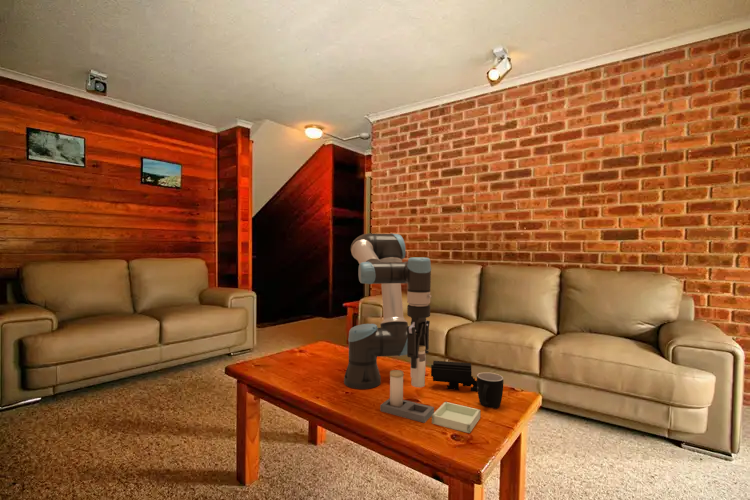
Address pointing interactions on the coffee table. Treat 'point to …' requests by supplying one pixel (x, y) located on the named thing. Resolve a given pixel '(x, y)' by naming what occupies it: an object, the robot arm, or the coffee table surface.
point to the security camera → (453, 374)
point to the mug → (490, 389)
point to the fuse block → (404, 401)
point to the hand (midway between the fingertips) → (418, 375)
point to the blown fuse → (420, 369)
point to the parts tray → (456, 417)
